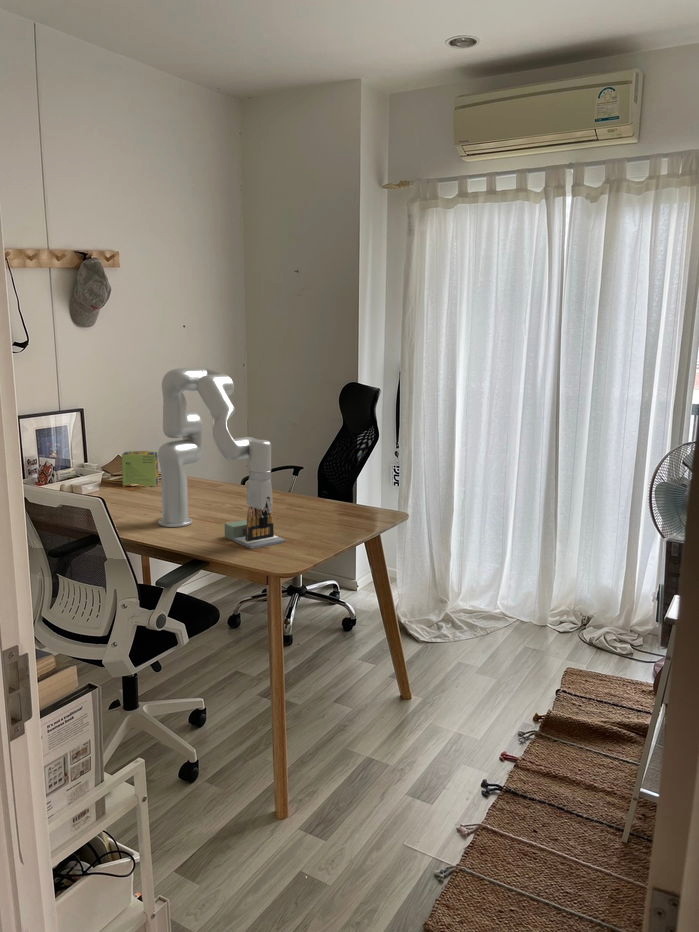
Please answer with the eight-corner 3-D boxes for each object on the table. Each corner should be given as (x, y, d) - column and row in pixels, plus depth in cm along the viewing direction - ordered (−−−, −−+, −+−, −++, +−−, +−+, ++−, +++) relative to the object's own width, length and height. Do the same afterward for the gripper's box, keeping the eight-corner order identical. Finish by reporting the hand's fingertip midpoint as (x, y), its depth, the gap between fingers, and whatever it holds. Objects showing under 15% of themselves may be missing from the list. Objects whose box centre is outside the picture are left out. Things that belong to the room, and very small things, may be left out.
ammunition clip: (270, 535, 264) (271, 502, 262) (273, 536, 263) (274, 504, 260) (245, 540, 257) (245, 506, 255) (248, 541, 256) (248, 508, 254)
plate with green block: (224, 536, 265) (224, 523, 264) (257, 530, 274) (257, 517, 273) (251, 549, 252) (251, 534, 251) (285, 542, 260) (285, 528, 259)
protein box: (156, 487, 344) (155, 454, 341) (122, 487, 342) (121, 454, 339) (159, 482, 354) (158, 450, 351) (126, 482, 352) (124, 450, 349)
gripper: (238, 472, 260) (238, 523, 263) (264, 480, 247) (263, 533, 250) (256, 470, 264) (256, 520, 268) (282, 478, 252) (282, 530, 255)
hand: (260, 526), depth 259 cm, fingers open, 3 cm apart
